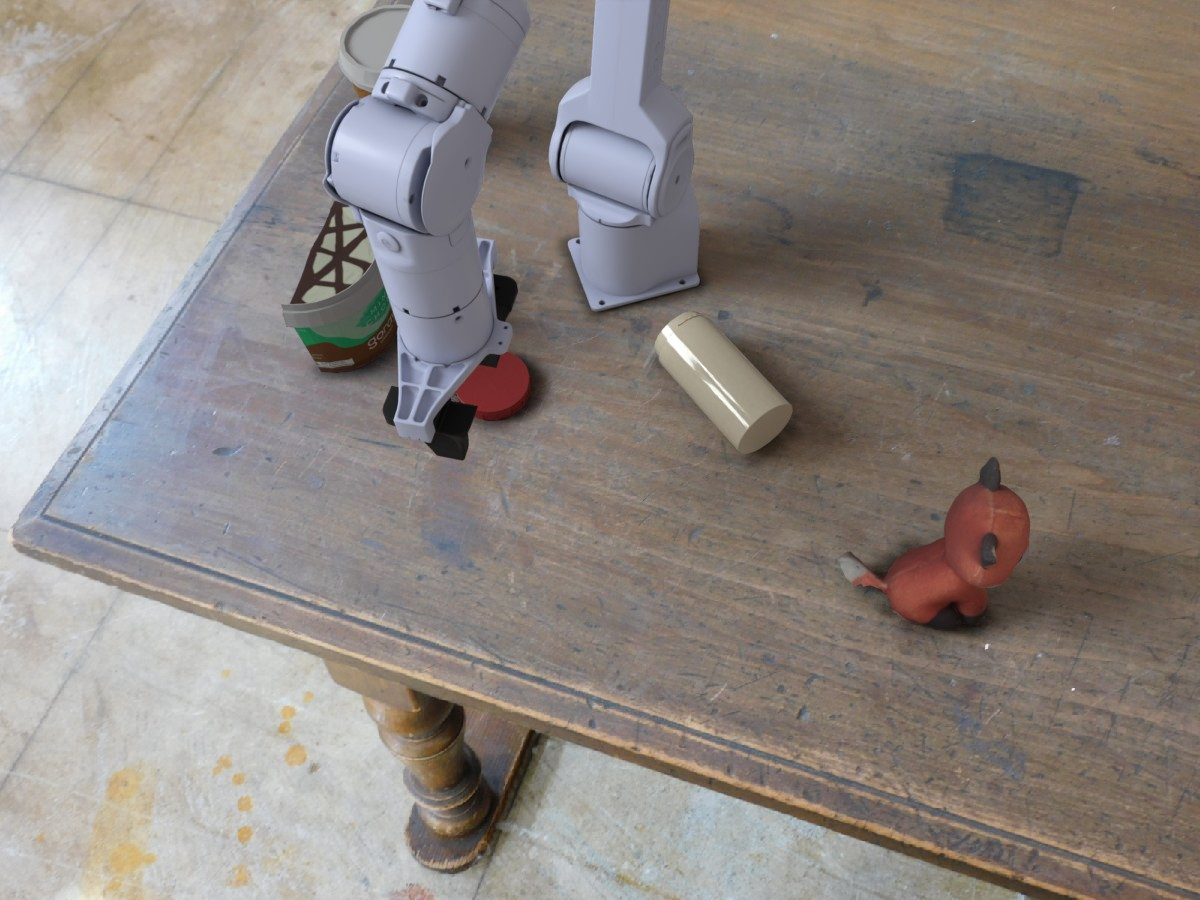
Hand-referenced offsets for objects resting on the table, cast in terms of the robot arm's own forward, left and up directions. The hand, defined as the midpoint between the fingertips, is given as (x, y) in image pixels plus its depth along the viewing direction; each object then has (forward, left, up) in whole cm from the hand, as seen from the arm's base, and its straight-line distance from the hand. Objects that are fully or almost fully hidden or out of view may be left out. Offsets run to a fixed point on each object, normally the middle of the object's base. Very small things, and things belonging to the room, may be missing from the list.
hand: (468, 406), depth 74 cm
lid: (-2, -7, -8) cm, 11 cm away
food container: (+6, -16, -10) cm, 20 cm away
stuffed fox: (-27, +18, -10) cm, 34 cm away
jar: (-21, +4, -7) cm, 22 cm away
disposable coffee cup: (-2, -36, -10) cm, 37 cm away
